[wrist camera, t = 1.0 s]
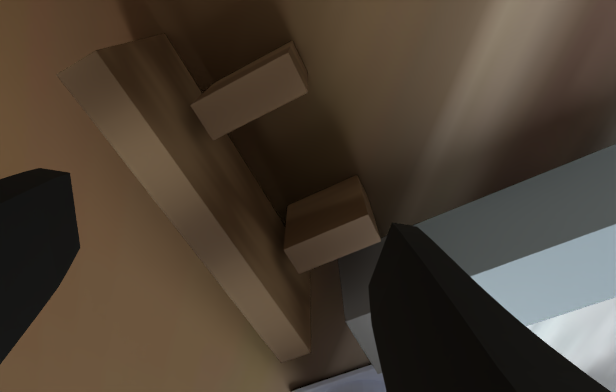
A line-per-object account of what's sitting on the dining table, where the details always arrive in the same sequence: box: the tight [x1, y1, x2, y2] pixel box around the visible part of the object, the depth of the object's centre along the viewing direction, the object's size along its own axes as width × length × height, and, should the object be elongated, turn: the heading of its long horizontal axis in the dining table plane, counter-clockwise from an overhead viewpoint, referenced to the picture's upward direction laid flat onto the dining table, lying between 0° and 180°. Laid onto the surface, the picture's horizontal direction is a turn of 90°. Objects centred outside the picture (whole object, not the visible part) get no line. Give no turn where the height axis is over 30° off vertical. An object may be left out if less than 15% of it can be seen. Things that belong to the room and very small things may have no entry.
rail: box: [338, 144, 616, 374], centre depth 19 cm, size 16×4×5 cm, turn 117°
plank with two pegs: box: [56, 33, 381, 363], centre depth 16 cm, size 14×6×6 cm, turn 27°
